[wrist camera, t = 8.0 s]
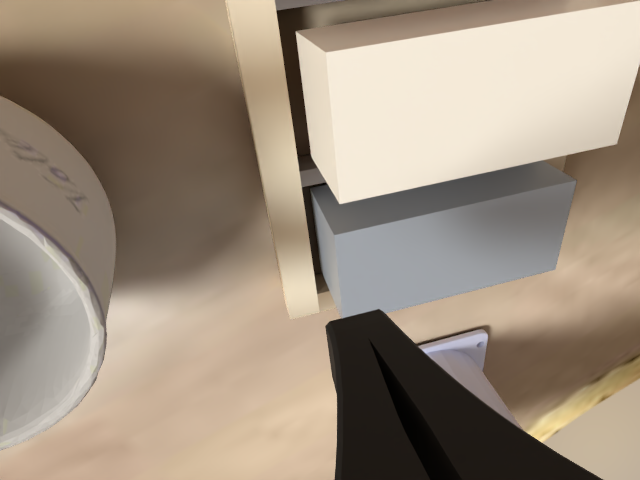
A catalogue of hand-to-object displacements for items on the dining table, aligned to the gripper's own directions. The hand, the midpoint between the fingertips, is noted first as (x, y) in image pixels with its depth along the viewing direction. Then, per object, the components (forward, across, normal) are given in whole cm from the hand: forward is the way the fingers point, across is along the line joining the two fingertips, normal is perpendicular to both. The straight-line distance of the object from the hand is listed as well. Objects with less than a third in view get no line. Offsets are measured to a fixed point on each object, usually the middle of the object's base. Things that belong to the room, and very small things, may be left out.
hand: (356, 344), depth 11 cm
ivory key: (+9, -6, -4) cm, 11 cm away
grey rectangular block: (+10, -6, +3) cm, 12 cm away
